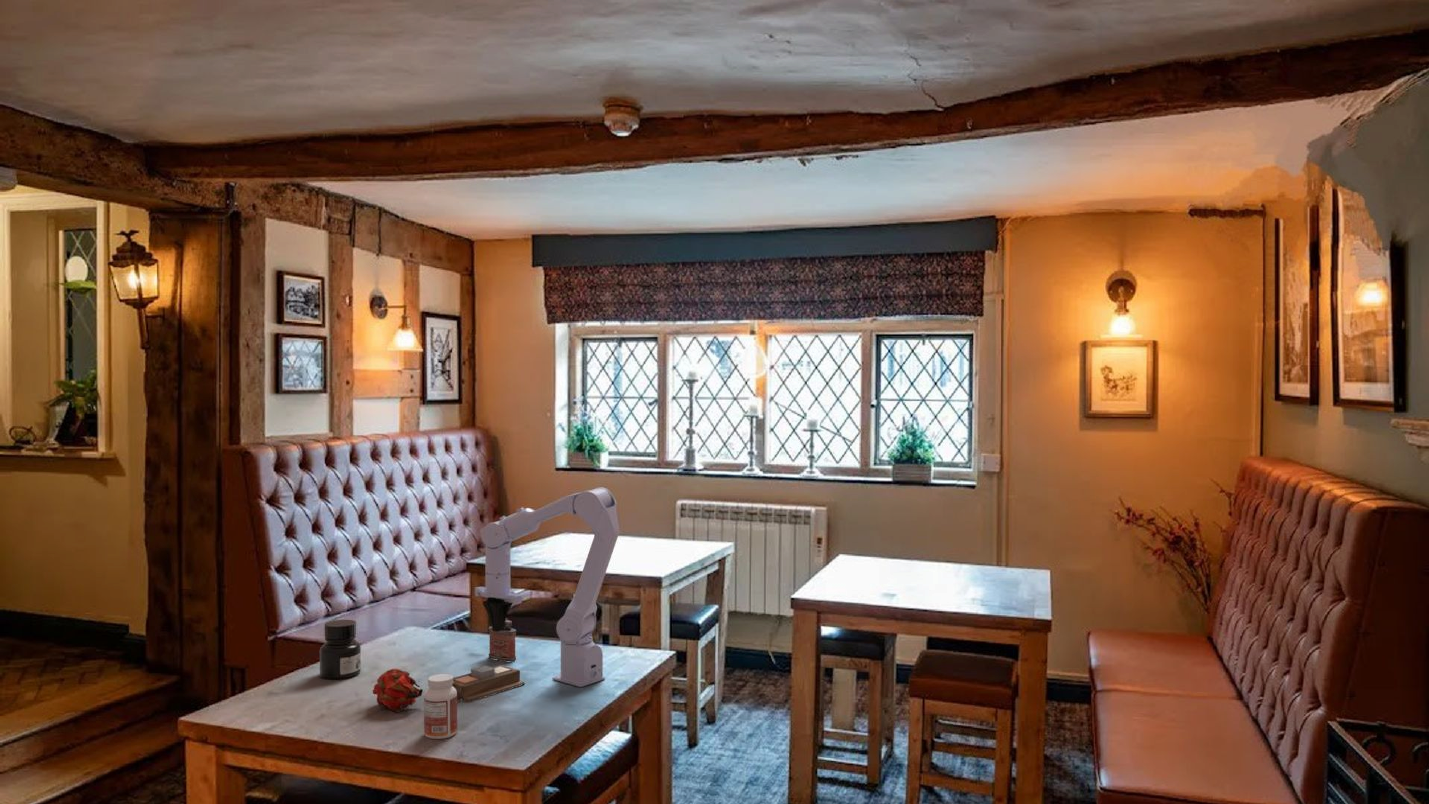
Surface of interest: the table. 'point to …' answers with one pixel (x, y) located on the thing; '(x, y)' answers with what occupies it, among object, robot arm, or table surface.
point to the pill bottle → (440, 707)
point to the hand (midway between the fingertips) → (497, 630)
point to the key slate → (482, 672)
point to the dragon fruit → (396, 690)
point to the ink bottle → (340, 651)
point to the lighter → (503, 643)
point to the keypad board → (487, 685)
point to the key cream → (501, 670)
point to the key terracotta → (466, 680)
